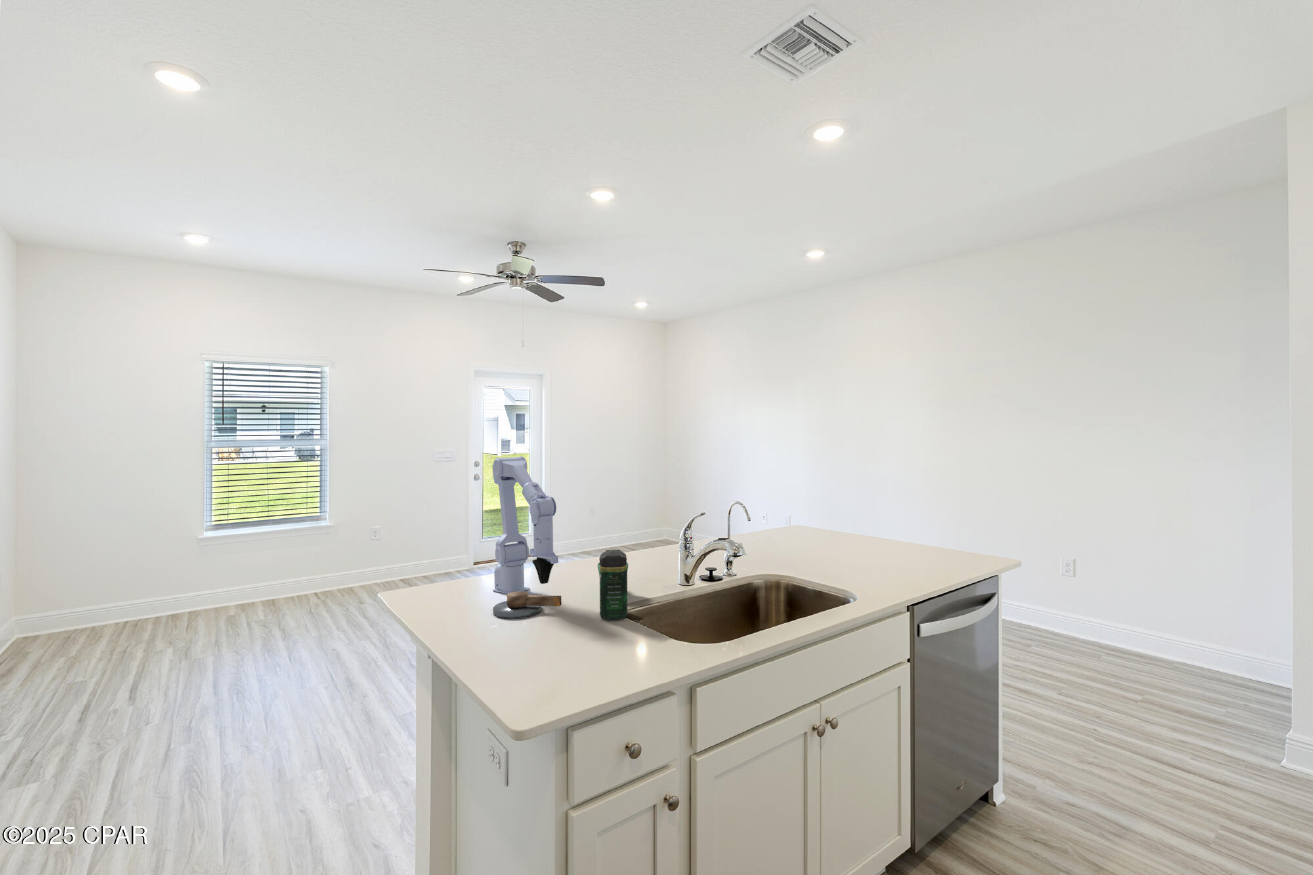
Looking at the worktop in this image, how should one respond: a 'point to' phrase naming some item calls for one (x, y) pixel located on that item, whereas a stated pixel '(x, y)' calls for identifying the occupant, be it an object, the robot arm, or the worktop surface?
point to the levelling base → (515, 611)
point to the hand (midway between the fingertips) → (544, 583)
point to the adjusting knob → (531, 600)
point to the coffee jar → (613, 585)
